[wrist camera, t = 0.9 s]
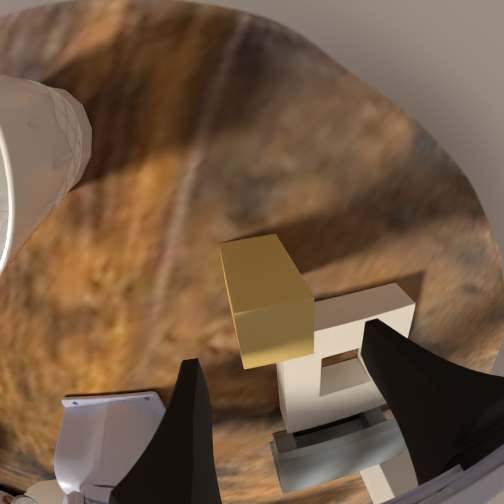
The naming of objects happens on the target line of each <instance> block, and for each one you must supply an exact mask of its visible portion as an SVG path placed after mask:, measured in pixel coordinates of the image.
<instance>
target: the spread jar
mask: <svg viewBox="0 0 504 504" xmlns="http://www.w3.org/2000/svg"><path fill="white" fill-rule="evenodd" d="M0 504H37V503H36V501H34V500H33V499H32V498H30V497H28V496H25V495H17V494H16V493H14V492H12V491H10V490H8V489H6V488H4V487H1V486H0Z"/></svg>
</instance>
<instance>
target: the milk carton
mask: <svg viewBox="0 0 504 504" xmlns="http://www.w3.org/2000/svg"><path fill="white" fill-rule="evenodd" d="M360 474H361V476H362V478H363V480H364V483H365V485H366V487H367V490H368V492H369V494H370V496H371V499H372V501H373V503H374V504H380V503H383V502H385V501H388V500H390V499H392V498H395V497H397V496H399V495H401V494H403V493H406V492H408V491H410V490H412V489H414V488H416V487H418V482H417V478H416V474H415V471H414V467H413V464H412V461H411V458H410V455H409V452H408V449H407V446H406V448H405V449H404V451H403V453H402V454H401V455H399V456H397V457H395V458H392V459H390V460H387V461H385V462H383V463H380V464H378V465H375V466H372V467H370V468H367V469H364V470H362V471H360ZM432 497H433V496H432ZM427 500H428V499H427ZM425 501H426V500H425ZM425 501H423V502H425ZM423 502H421V503H423ZM421 503H419V504H421Z"/></svg>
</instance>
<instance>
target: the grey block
mask: <svg viewBox="0 0 504 504" xmlns="http://www.w3.org/2000/svg"><path fill="white" fill-rule="evenodd" d="M273 440H274V442H272V443H269V445H270V449H271V453H272V457H273V460H274V464H275V468H276V471H277V475H278V479H279V482H280V486H281V488H282V492H283V493H288V492H292V491H296V490H300V489H304V488H308V487H311V486H315V485H319V484H322V483H325V482H329V481H332V480H335V479H338V478H341V477H344V476H347V475H350V474H353V473H356V472H359V471H362V470H364V469H367V468H370V467H372V466H375V465H378V464H380V463H383V462H385V461H387V460H390V459H392V458H395V457H397V456H399V455H401V454H402V453H403V451H404V449H405V448H406V443H405V441H404V438H403V436H402V433H401V431H400V428H399V426H398V424H397V422H396V419H395V418H392V419H390V420H387V419H386V418H385V416H384V414H383V412H382V411H381V409H380V407H379V406H378V407H375V408H373V409H370V410H367V411H364V412H361V413H360V417H359V418H358V419H356V420H353V421H349V422H346V423H343V424H340V425H337V426H334V427H330V428H327V429H323V430H320V431H316V432H313V433H309V434H305V435H302V436H298V437H294V436H293V433H289V434H288V433H287V431H282V432H278V433H274V434H273Z"/></svg>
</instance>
